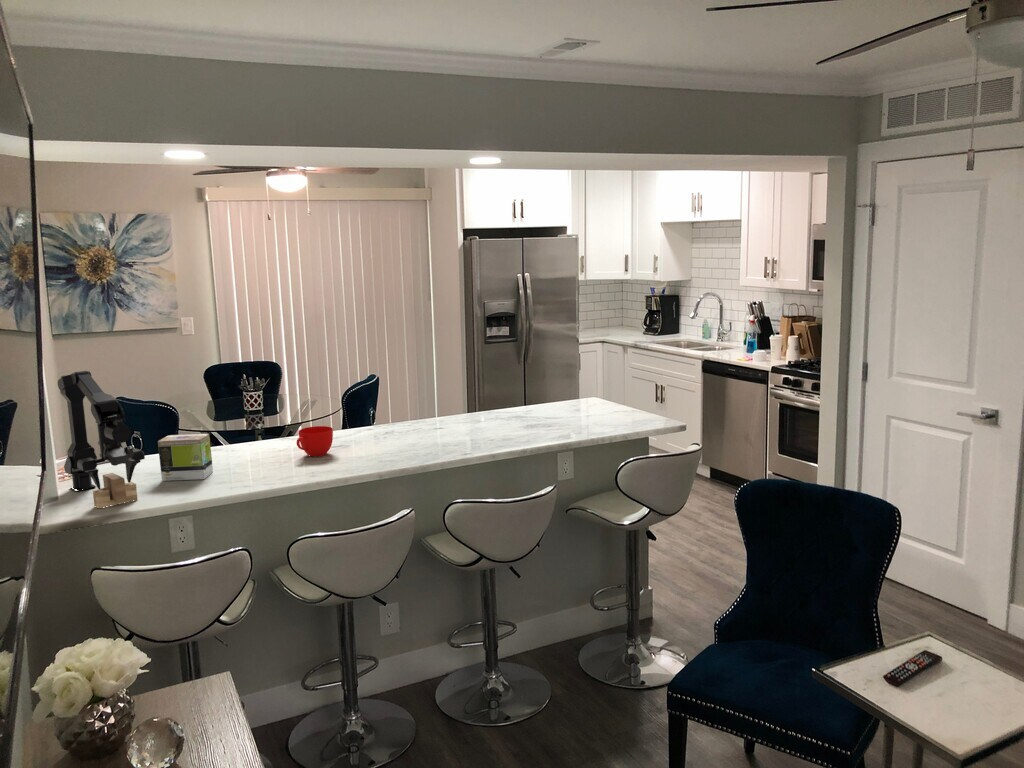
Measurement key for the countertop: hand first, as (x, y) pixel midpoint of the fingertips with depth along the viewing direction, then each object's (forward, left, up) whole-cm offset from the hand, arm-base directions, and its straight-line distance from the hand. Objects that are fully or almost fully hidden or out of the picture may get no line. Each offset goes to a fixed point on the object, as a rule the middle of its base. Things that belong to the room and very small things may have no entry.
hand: (114, 485), depth 257 cm
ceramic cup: (-1, +74, -6) cm, 74 cm away
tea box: (-12, +29, -6) cm, 32 cm away
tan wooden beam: (0, 0, -4) cm, 4 cm away
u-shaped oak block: (0, 0, -6) cm, 6 cm away
